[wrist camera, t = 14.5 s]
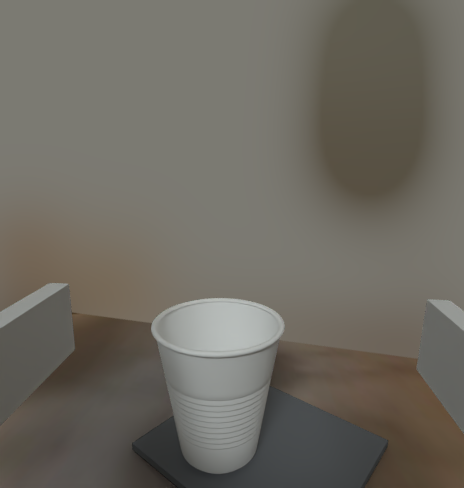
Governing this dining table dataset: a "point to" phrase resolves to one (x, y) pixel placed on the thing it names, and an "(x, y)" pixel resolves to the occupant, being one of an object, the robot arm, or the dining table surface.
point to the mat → (278, 451)
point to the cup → (218, 376)
